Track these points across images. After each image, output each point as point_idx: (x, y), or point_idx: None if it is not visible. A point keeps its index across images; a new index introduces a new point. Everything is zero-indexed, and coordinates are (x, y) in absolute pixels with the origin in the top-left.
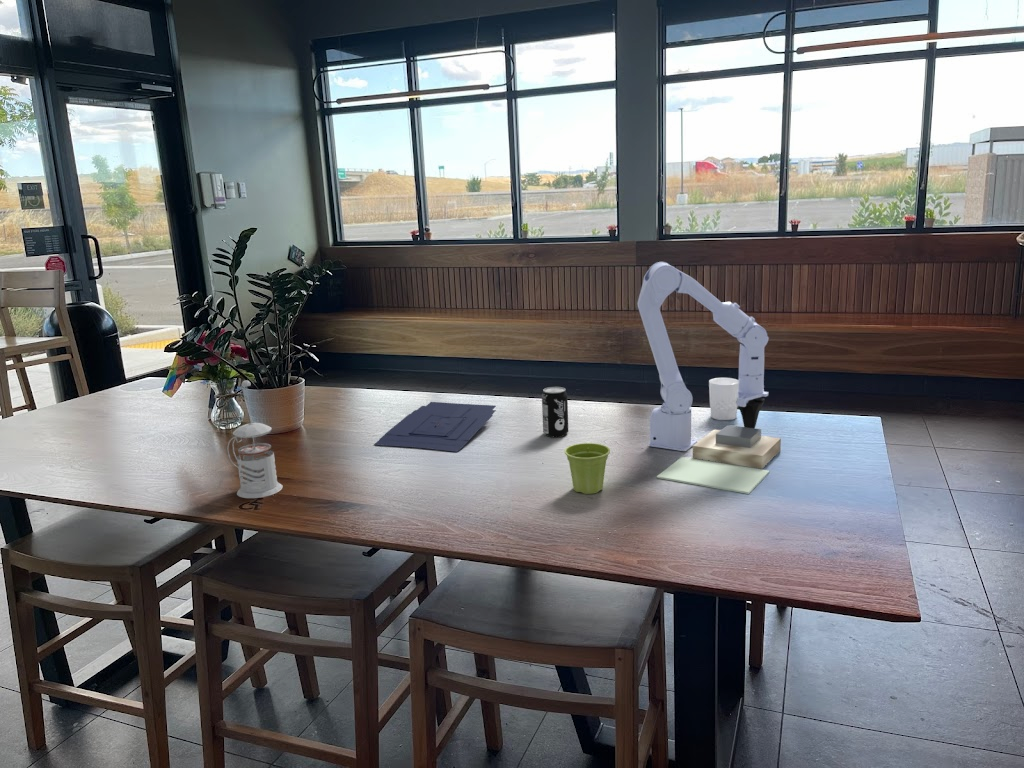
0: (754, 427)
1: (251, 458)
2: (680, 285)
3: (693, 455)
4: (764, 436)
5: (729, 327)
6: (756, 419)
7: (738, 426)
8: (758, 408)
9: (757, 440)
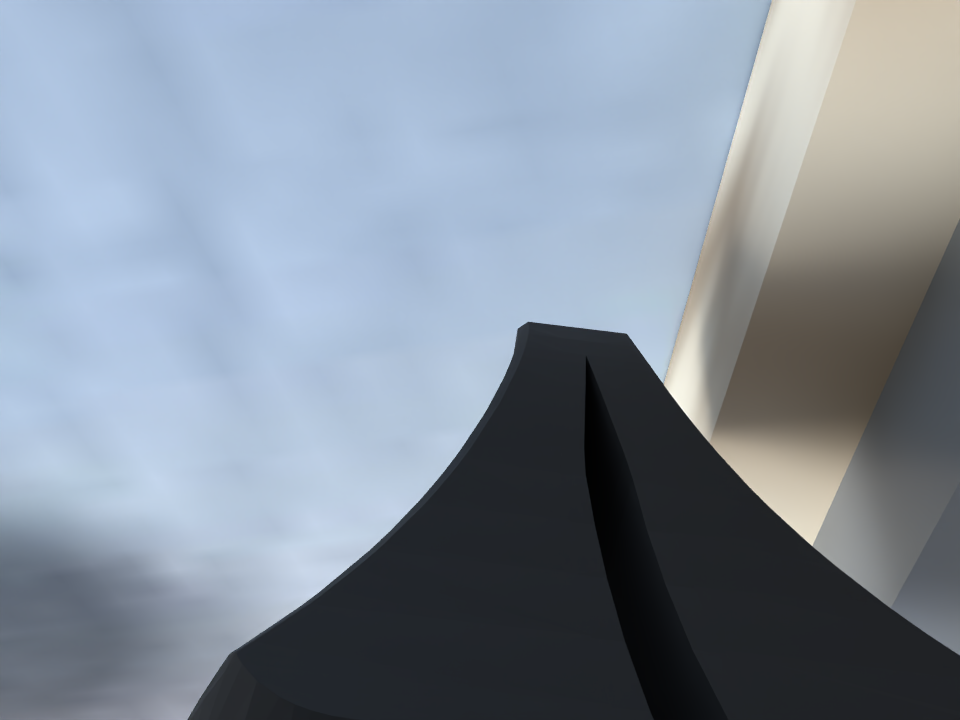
0: (570, 334)
1: None
2: None
3: None
4: (871, 57)
5: None
6: (573, 411)
7: (906, 599)
8: (790, 641)
9: None
